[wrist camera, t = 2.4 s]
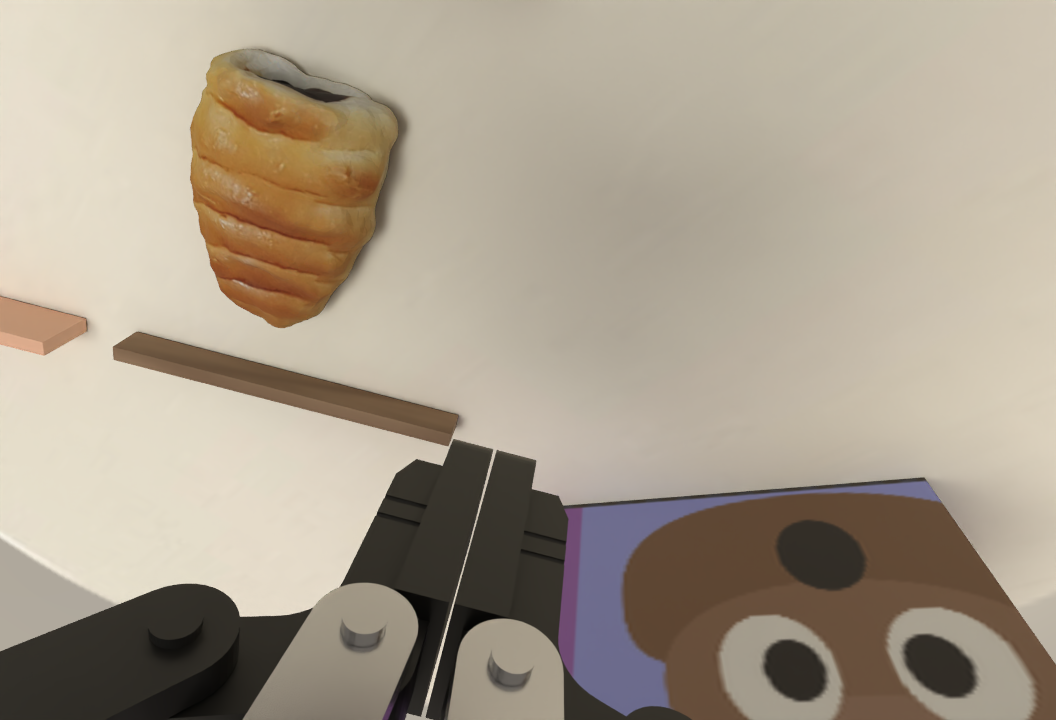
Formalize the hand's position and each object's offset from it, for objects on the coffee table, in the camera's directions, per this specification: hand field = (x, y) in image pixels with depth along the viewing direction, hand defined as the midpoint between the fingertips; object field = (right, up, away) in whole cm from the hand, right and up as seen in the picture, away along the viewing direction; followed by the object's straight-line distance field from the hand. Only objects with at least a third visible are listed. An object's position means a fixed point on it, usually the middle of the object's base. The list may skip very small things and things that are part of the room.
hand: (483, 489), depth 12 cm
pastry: (-7, +9, +13) cm, 18 cm away
